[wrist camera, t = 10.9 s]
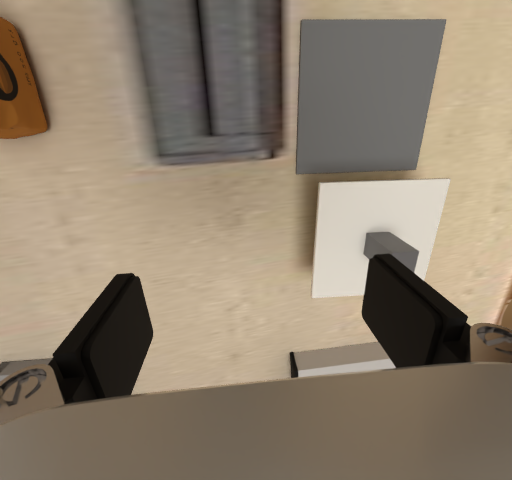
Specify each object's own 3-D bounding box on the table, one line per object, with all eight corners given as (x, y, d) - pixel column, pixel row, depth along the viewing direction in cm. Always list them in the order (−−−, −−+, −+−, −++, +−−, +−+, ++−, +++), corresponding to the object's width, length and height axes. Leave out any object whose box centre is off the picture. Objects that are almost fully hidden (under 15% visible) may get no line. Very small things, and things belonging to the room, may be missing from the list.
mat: (300, 21, 32) (301, 19, 31) (443, 21, 33) (446, 19, 32) (295, 173, 39) (296, 174, 38) (413, 169, 40) (415, 169, 39)
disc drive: (288, 350, 52) (294, 371, 48) (399, 336, 53) (415, 355, 48) (292, 410, 59) (297, 433, 54) (390, 396, 60) (403, 418, 55)
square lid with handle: (318, 182, 31) (339, 194, 25) (446, 178, 32) (496, 188, 26) (310, 295, 37) (325, 327, 31) (418, 289, 38) (453, 318, 32)
